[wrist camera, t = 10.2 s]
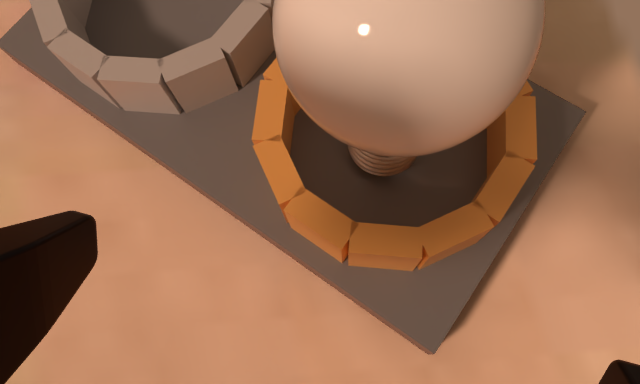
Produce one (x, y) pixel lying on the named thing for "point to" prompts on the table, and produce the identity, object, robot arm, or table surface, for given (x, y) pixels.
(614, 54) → the table surface
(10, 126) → the table surface
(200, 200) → the table surface
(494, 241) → the bulb holder
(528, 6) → the lightbulb
